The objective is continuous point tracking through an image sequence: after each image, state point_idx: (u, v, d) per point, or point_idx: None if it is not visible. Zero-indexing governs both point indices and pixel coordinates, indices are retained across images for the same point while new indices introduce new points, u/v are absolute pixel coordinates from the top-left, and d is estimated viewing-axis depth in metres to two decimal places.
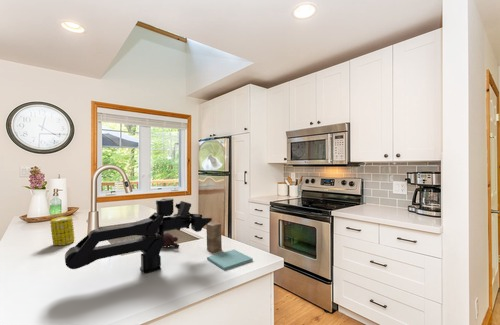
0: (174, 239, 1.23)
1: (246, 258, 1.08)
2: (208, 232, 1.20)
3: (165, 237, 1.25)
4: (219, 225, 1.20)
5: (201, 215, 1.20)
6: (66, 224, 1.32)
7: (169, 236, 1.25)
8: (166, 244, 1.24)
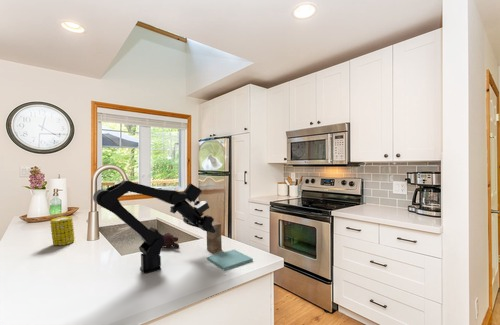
0: (174, 239, 1.23)
1: (246, 258, 1.08)
2: (208, 232, 1.20)
3: (165, 237, 1.25)
4: (219, 225, 1.20)
5: None
6: (66, 224, 1.32)
7: (169, 236, 1.25)
8: (166, 244, 1.24)
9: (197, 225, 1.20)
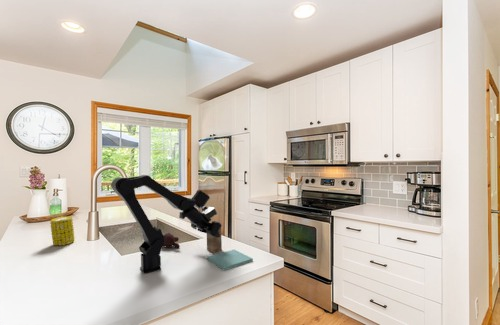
0: (175, 239, 1.23)
1: (246, 258, 1.08)
2: None
3: (166, 237, 1.25)
4: None
5: None
6: (66, 224, 1.32)
7: (170, 236, 1.25)
8: (167, 244, 1.24)
9: (206, 231, 1.21)
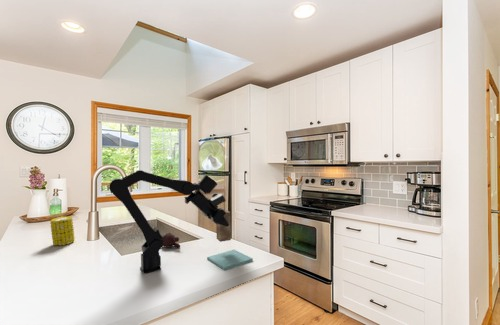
0: (175, 239, 1.23)
1: (246, 258, 1.08)
2: None
3: (167, 237, 1.25)
4: (228, 213, 1.13)
5: None
6: (66, 224, 1.32)
7: (171, 236, 1.25)
8: (167, 244, 1.24)
9: None
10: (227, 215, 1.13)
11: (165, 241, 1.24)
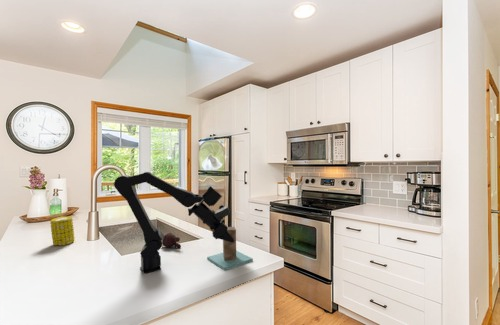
0: (176, 239, 1.23)
1: (246, 258, 1.08)
2: None
3: (167, 237, 1.25)
4: (233, 231, 1.06)
5: None
6: (66, 224, 1.32)
7: (171, 236, 1.25)
8: (168, 244, 1.24)
9: None
10: (232, 233, 1.06)
11: (166, 241, 1.24)
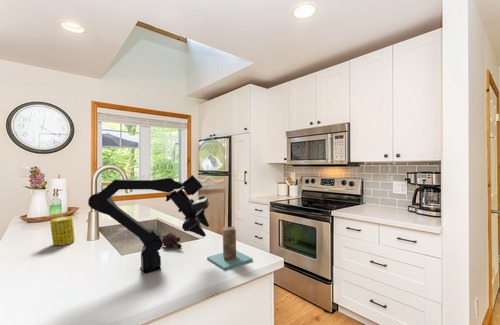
0: (177, 239, 1.23)
1: (246, 258, 1.08)
2: (223, 237, 1.08)
3: (168, 237, 1.25)
4: (233, 231, 1.06)
5: (208, 225, 1.12)
6: (66, 224, 1.32)
7: (172, 236, 1.25)
8: (169, 244, 1.24)
9: (200, 220, 1.11)
10: (232, 233, 1.06)
11: (166, 241, 1.24)
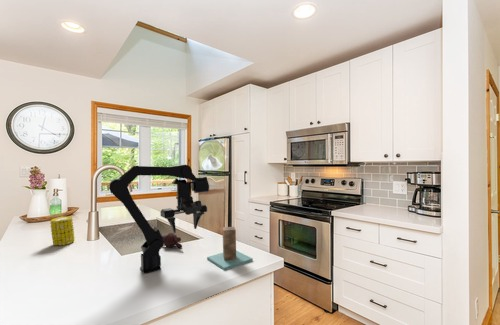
0: (177, 239, 1.23)
1: (246, 258, 1.08)
2: (223, 237, 1.08)
3: (169, 237, 1.24)
4: (233, 231, 1.06)
5: (195, 228, 1.10)
6: (66, 224, 1.32)
7: (173, 236, 1.25)
8: (169, 244, 1.24)
9: (194, 219, 1.11)
10: (232, 233, 1.06)
11: (167, 241, 1.24)
